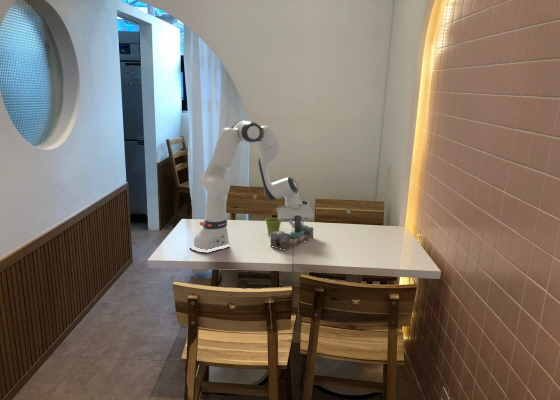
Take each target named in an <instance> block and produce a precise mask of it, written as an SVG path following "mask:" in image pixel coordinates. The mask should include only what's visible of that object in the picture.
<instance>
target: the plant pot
mask: <svg viewBox="0 0 560 400" xmlns="http://www.w3.org/2000/svg"><path fill="white" fill-rule="evenodd" d="M265 223H266V227H267V235H268V234H271V232H273V231H280V226H281V223H282V222H280V221H279V220H278V217H269V218H266V219H265Z"/></svg>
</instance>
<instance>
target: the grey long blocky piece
mask: <svg viewBox="0 0 560 400" xmlns="http://www.w3.org/2000/svg"><path fill="white" fill-rule="evenodd" d="M301 231H304V235H303V236H301V237H298V238H291V233H287V232H286V233H285V232H284V231H283V230H279V231H273V232H271V235H270V247H271V246H274V247H277V248H281V249H285V250H286V251H288V250H290V249H289V248H291V247H293V246H295V245H297V246H299V245H301V244H302V242H303V243H305V242H307V241H309V239H310V240H312V239H313V238H314V227H310V226H308V225H307V224H304V227H301ZM311 238H312V239H311ZM279 240H281V244H280V243H279ZM304 241H305V242H304ZM300 243H301V244H300ZM298 244H299V245H298ZM295 247H296V246H295ZM277 248H276V249H277ZM293 248H294V247H293ZM281 249H280V250H281ZM287 249H288V250H287ZM291 249H292V248H291ZM285 250H284V251H285Z"/></svg>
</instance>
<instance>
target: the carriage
mask: <svg viewBox="0 0 560 400" xmlns="http://www.w3.org/2000/svg"><path fill="white" fill-rule="evenodd" d="M294 223H295V227H294V230H293V231H291V232H290V234H291V238H298V237H301V236H303V235H304V231H301V223H302V222H301V216H299V215H296V216H295V221H294Z"/></svg>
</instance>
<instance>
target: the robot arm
mask: <svg viewBox="0 0 560 400" xmlns="http://www.w3.org/2000/svg"><path fill="white" fill-rule="evenodd" d="M241 142H246V143H256V144H257V147H258V149H259V151H260V157H259V158H258V168H259V172H260V179H261V181H262V185H263V193H264V196H265V198H266V199H267V200H269V201H271V202H274V201H277V200H279V199H280V198H284V204H285V205H278V207H276V213H277V218H278V220H279V221H280V222H281V223H282V222H283V223H284V222H288V223H289V225H291V228H294V227H295V216H296V215H299V216H301V227H304V225H305V224H304V223H305V221H312V220H313V219H314V217H315V216H314V215H315V214H314V211H313V209H312V207H311V206H310V202H309V201H307V200H302V199H301V198H300V196H299V194H300V193H299V186H298V183H297V181H296V180H295V179H294V178H292V177H289V176H288V177H284V178H281V179H279V180H276V181H273V182H271V180H270V175H269V171H268V168H269V167H270V166H271V165H272V164H273V163H274V162H276V161H277V159H279V157H280V155H281V151H282V149H281V145H280V143H279V140H278V138H277V136H276V133H275V132H274V131H273V129H272V128H271V127H270V126H269V125H260V124H258V123H257V122H255V121H251V120H245V119H240V120H238V121H236V123H235V124H233V126H231V127H224V128H223V129H222V130H221V132H220V134H219V136H218V138H217V141H216V143H215V146H214V149H213V152H212V156H211V158H210V161H209V163H208V165H207V167H206V169H205V171H204V173H203V174H202V175H201V177H200V184H201V186H202V187H201V188H203V190H204V191H206V193H207V195H206V201H205V204H204V215H205V216H204V217H205V219H204V220H203V221H199V226H202V228H201V229H200V230H199V232H197V234H196V235H195V236H194V238H193V239H194V240H193V245H194V246H195V247H197V248H200V249H205V250H208V249H212V248H215V247H219V246H223V245H226V244H229V243H230V240H229V234H228V228H227V226H228V219H227V201H228V194H229V192H230V189H231V184H230V183H229V180H228V179H227V178H226V177H225V176H226V174H227V172H228V171H229V170H230V168H231V167H232V165H233V162H234V158H235V156H236V153H237V149H238V146H239V144H240V143H241Z"/></svg>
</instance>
